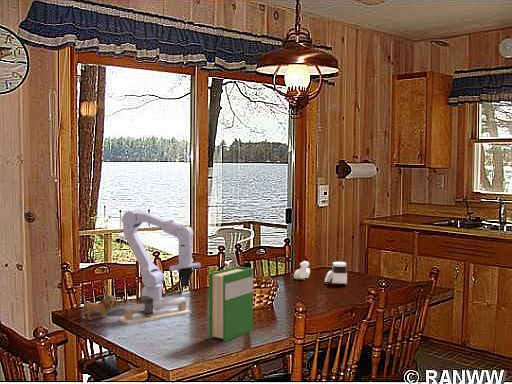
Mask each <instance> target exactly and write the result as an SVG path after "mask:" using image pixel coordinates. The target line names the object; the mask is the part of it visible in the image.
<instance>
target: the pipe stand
mask: <svg viewBox="0 0 512 384" xmlns="http://www.w3.org/2000/svg"><path fill="white" fill-rule="evenodd" d="M186 302H187V300H186V298H185V296H182V297H181V296H180V297H173V298H169V299H167V298H166V299H162V300H160V301H154V302H153V310H155V309H161V308H167V307H168V308H169V307H172V306H173V307H174V306H177V307H175V308H169V309H163V310H158V311H153V315H148V316H146V315H144V314H141V313H139V314H134V315H133V313H137V312H140V311H144V310H145V303H141V304H140V303H135V304H129V305H124V308H123V309H124V312H123V313H124V315H123V317H119V321H120V322H122V323H124V324H126V325H133V324H139V323H143V322H144V323H146V322H150V321H154V320H155V321H156V320H160V319H167V318H173V317H177V316H179V317H180V316H183V315H184V316H185V315H191V313H192V312H191V310H189V309H187V303H186Z"/></svg>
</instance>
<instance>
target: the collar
mask: <svg viewBox="0 0 512 384" xmlns="http://www.w3.org/2000/svg"><path fill="white" fill-rule="evenodd" d="M138 299H139V300H138V301H139V304H141V303H145V310H144V311H139V314H144V315H146V316H148V315H153V312H154V309H153V298H150V297H148V296H142V295H141V296H139V298H138Z"/></svg>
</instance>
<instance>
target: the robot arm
mask: <svg viewBox="0 0 512 384" xmlns="http://www.w3.org/2000/svg"><path fill="white" fill-rule="evenodd" d="M121 223H122V232H123V233H122V234H123V236H124V238H125V240H126V241H127V244H128V246H129V248H130V249H131V252H132V253H133V256H134V257H135V259H136V262H137V263H138V265H139V267H140V268H141V272H140V276H141V277H142V284H143V287H142V290H141V297H142V296H148V297H150V298H153V302H154V301H160V300H163V299H162V295H163V294H162V288H163V287H162V283H163V282H164V280H165V275H164V273H163V271H161V270H160V269H159V267H158V266H157V265H156V264H155V263H153V261H152V259H151V258H150V257H151V256H150V255H149V253H148V252H147V249H146V248H145V246H144V244H143V242H142V240H141V238H140V236H139V234H138V231H139V230H138V229H140V226H141V225H142V224H143V223H148V224H150V225H152V226H156V227H158V228H161V229H162V232H163V233H165V234H168V235H171V236H173V237H175V238H176V239H177V240H178V264H174V265H169V271H170V272H174V271H177V272H178V274H179V275H180V280H181V282H182V286H184V287H187V286H188V287H189V282H190V279H191V276H192V275H193V272H194V269H195V268H198V269H199V268H201V265H202V264H201V262H193V249H192V248H193V246H192V245H193V244H192V243H193V241H192V238H193V237H194V229H193V228H192V227H190V226H189V225H185V226H184V224H182V223H181V224H180V223H178V222H175V220H174V219H167V220H163V219H161V218H159V217H157V216H155V215H153V214H150V213H149V212H147V211H143V210H142V209H135V210H134V209H133V210H127V211H125V212H124V213H123V216H122V218H121Z"/></svg>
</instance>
